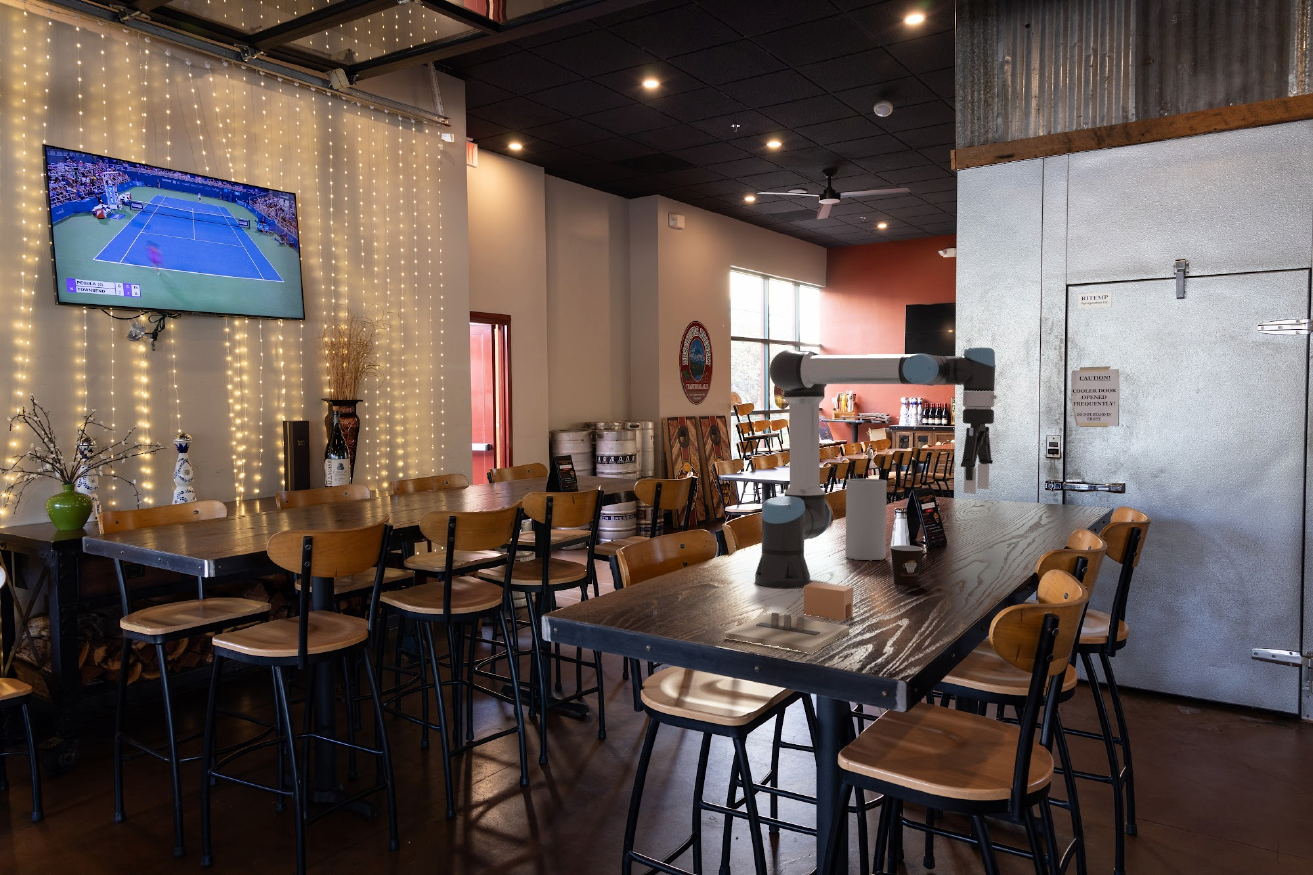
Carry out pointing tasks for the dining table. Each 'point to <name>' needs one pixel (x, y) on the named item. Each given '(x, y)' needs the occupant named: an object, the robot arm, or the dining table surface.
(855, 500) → the cylinder vase
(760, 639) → the board
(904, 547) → the coffee mug
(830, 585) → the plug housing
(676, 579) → the dining table surface
